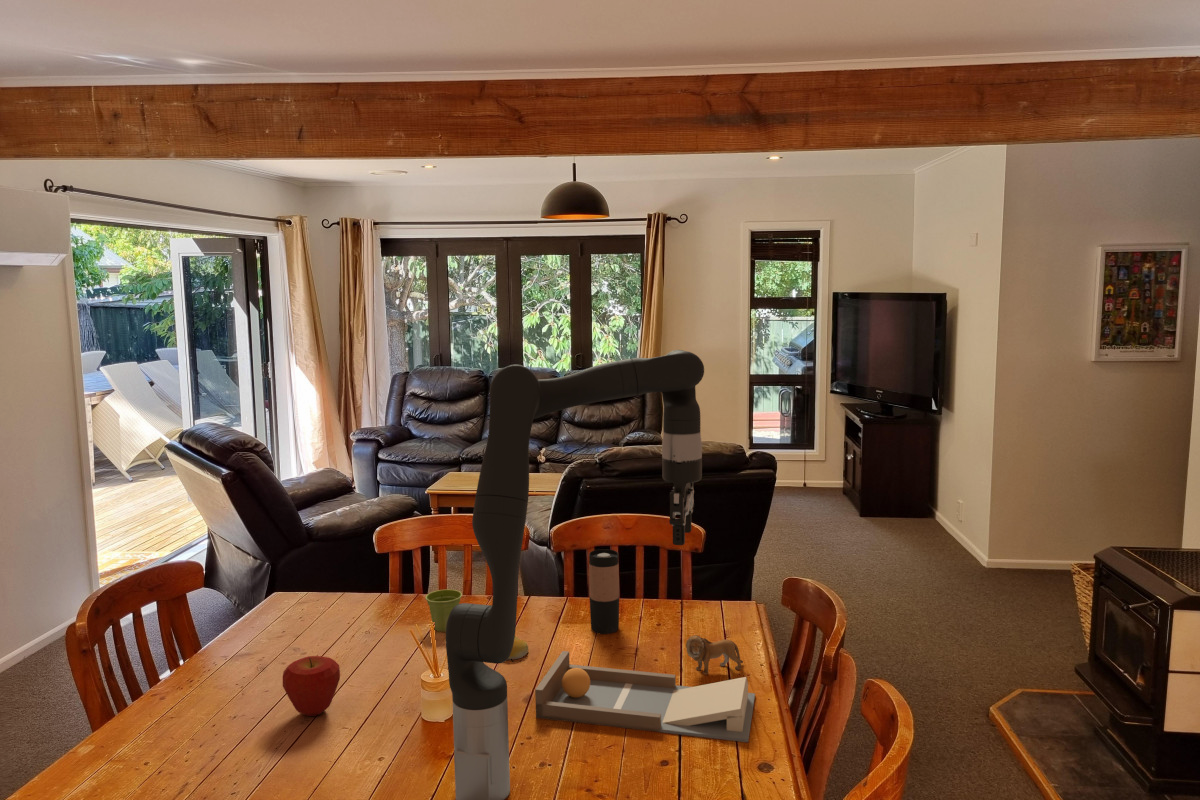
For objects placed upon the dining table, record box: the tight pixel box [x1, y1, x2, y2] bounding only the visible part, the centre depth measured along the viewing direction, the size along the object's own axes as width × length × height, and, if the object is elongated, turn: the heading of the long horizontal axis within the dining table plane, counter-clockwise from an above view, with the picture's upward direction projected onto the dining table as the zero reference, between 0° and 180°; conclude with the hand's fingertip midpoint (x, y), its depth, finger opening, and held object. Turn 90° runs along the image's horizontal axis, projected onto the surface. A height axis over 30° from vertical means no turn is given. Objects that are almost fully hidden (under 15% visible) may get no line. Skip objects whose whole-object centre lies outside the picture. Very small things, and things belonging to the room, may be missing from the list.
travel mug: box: [588, 548, 620, 635], centre depth 211 cm, size 8×8×20 cm
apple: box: [282, 655, 341, 717], centre depth 169 cm, size 11×11×12 cm
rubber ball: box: [562, 668, 590, 698], centre depth 174 cm, size 6×6×6 cm
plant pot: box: [425, 589, 463, 632], centre depth 214 cm, size 9×9×9 cm
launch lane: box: [534, 650, 756, 743], centre depth 170 cm, size 42×19×7 cm, turn 76°
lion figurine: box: [685, 635, 744, 676], centre depth 187 cm, size 15×5×9 cm, turn 113°
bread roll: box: [506, 635, 529, 661], centre depth 198 cm, size 8×9×4 cm
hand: (682, 538), depth 158 cm, fingers open, 8 cm apart
